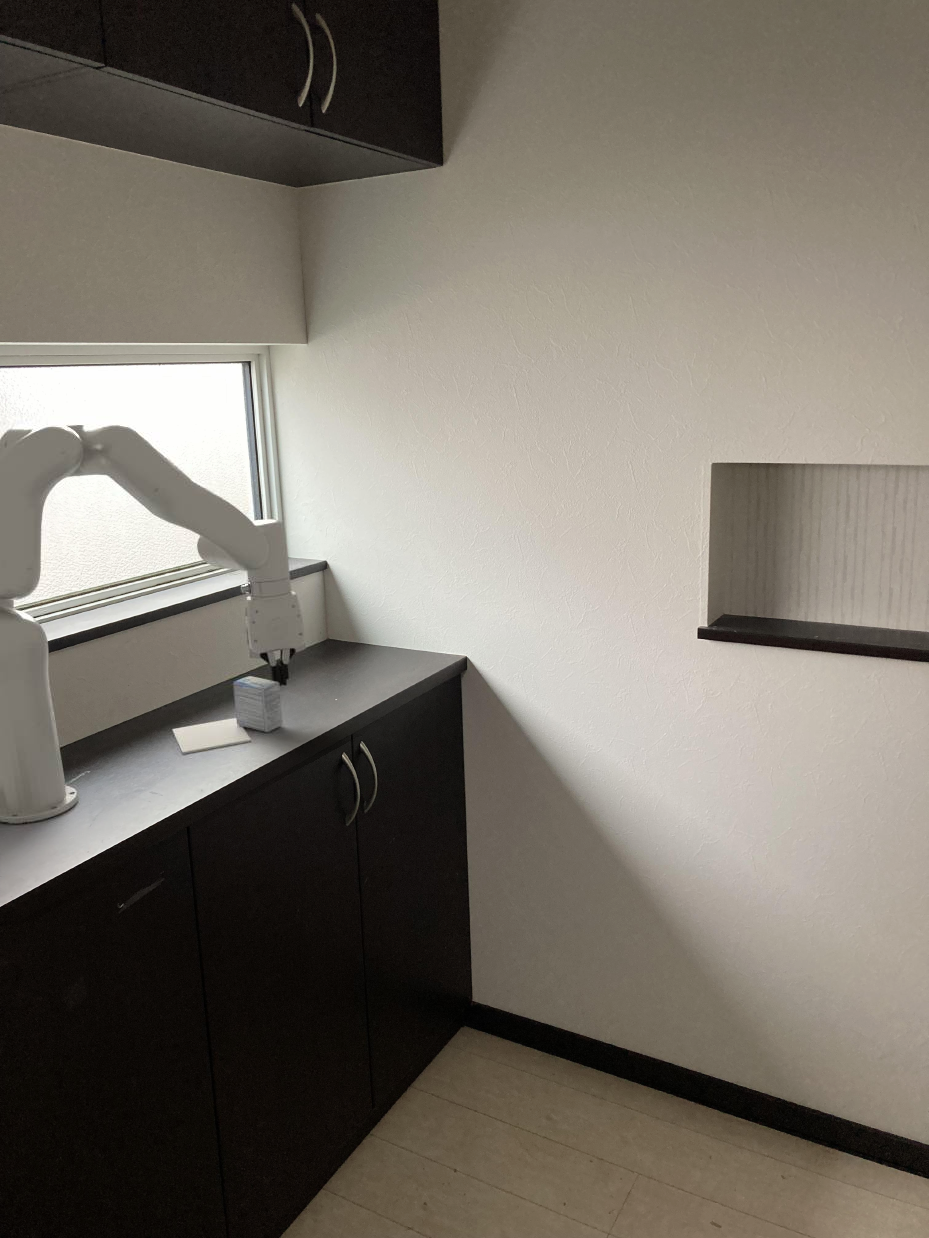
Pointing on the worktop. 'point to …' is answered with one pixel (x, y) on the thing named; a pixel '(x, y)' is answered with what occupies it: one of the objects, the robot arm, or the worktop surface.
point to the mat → (210, 735)
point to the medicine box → (258, 703)
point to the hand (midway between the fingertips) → (280, 683)
